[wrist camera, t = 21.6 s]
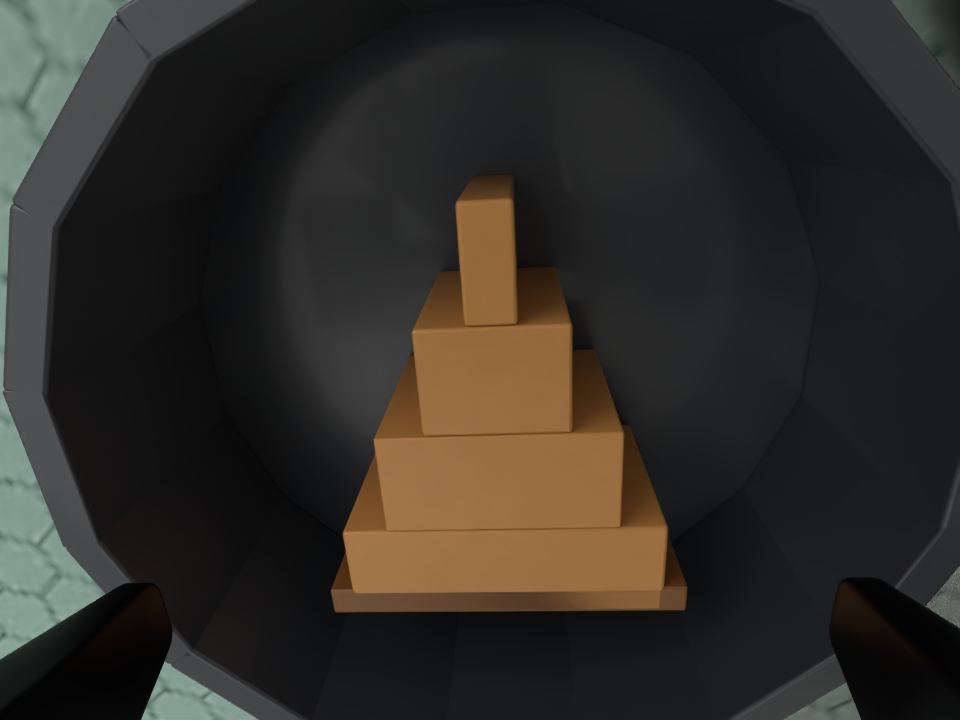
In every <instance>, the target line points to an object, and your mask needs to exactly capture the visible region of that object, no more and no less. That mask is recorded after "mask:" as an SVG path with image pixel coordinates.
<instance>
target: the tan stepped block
mask: <svg viewBox="0 0 960 720" xmlns="http://www.w3.org/2000/svg"><path fill="white" fill-rule="evenodd" d="M455 209H456V223H457V236H458V250H459V264H460V271H445V272H440V273H439V275H438V277H437V279H436V281H435V283H434V285H433V288H432V290H431V292H430V294H429V296H428V298H427V300H426V303H425V305H424V307H423V309H422V311H421V313H420V315H419V318H418V320H417V322H416V324H415V326H414V328H413V331H412V341H413V350H414V356H410V357H409V359H408V361H407V364H406V366H405V368H404V370H403V373H402V375H401V377H400V380H399V382H398V384H397V387H396V389H395V391H394V394H393V396H392V398H391V401H390V403H389V405H388V408H387V410H386V412H385V415H384V417H383V419H382V422H381V424H380V426H379V429H378V431H377V433H376V436H375V438H374V447H375V455H374V458H373V460H372V463H371V465H370V468H369V470H368V472H367V475H366V477H365V480H364V482H363V485H362V487H361V490H360V492H359V495H358V497H357V499H356V502H355V504H354V507H353V509H352V512H351V514H350V517H349V519H348V522H347V524H346V526H345V529H344V531H343V538H344V544H345V549H346V552H345V555H344V558H343V560H342V563H341V565H340V568H339V571H338V573H337V576H336V578H335V581H334V584H333V586H332V589H331V595H332V600H333V605H334V610H335V612H491V611H651V610H685V609H686V602H687V591H688V587H687V584H686V582H685V579H684V576H683V574H682V571H681V568H680V566H679V563H678V560H677V557H676V555H675V552H674V549H673V547H672V544H671V541H670V539H669V536H668V526H667V524H666V521H665V519H664V516H663V513H662V511H661V508H660V505H659V503H658V500H657V497H656V495H655V492H654V489H653V487H652V484H651V481H650V479H649V476H648V473H647V471H646V468H645V465H644V463H643V460H642V457H641V455H640V452H639V449H638V447H637V444H636V441H635V439H634V436H633V433H632V431H631V428H630V426H628V425H621V423H620V420H619V417H618V414H617V411H616V409H615V406H614V403H613V400H612V397H611V394H610V391H609V389H608V386H607V383H606V380H605V377H604V374H603V371H602V369H601V366H600V363H599V360H598V357H597V354H596V351H595V350H594V349H587V350H573V327H572V323H571V320H570V316H569V313H568V309H567V305H566V302H565V298H564V295H563V291H562V288H561V284H560V281H559V277H558V274H557V270H556V268H555V267H532V268H517V259H516V231H515V204H514V178H513V175H511V174H503V175H485V176H474V177H472V179H471V180H470V182H469V184H468V185H467V187H466V188H465V190H464V191H463V193H462V194H461V196H460V197H459V199H458V200H457V202H456V205H455Z"/></svg>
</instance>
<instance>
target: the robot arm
mask: <svg viewBox="0 0 960 720" xmlns="http://www.w3.org/2000/svg"><path fill="white" fill-rule="evenodd" d="M829 635H830V640H831V644H832V647H833V650H834V652H835V655H836V657H837V660H838V662H839V665H840V667H841V670H842V672H843V675H844V677H845V680H846V682H847V685H848V687H849V690H850V693H851V695H852V698H853V700H854V703H855V705H856V708H857V710H858V713H859V715H860V718H861V720H960V628H959V627H957V626H955V625H954V624H952V623H950V622H949V621H947V620H946V619H944V618H942V617H941V616H939V615H938V614H936V613H934V612H933V611H931V610H930V609H928V608H926V607H925V606H923V605H922V604H920V603H918V602H917V601H915V600H914V599H912V598H910V597H909V596H907V595H906V594H904V593H902V592H901V591H899V590H898V589H896V588H894V587H893V586H891V585H890V584H888V583H886V582H885V581H883V580H881V579H879V578H875V577H847V578H844V579H842V580H841V581H840V582H839V584H838V587H837V592H836V596H835V601H834V606H833V610H832V615H831V619H830V624H829ZM172 636H173V630H172V624H171V621H170V618H169V615H168V612H167V609H166V606H165V603H164V600H163V597H162V594H161V591H160V589H159V587H158V586H157V585H156V584H154V583H150V582H143V583H125V584H122V585H120V586H118V587H117V588H115V589H113V590H112V591H110V592H108V593H107V594H105V595H104V596H102V597H100V598H99V599H97V600H96V601H94V602H92V603H91V604H89V605H88V606H86V607H84V608H83V609H81V610H79V611H78V612H76V613H75V614H73V615H71V616H70V617H68V618H67V619H65V620H63V621H62V622H60V623H59V624H57V625H55V626H54V627H52V628H50V629H49V630H47V631H46V632H44V633H42V634H41V635H39V636H38V637H36V638H34V639H33V640H31V641H29V642H28V643H26V644H25V645H23V646H21V647H20V648H18V649H17V650H15V651H13V652H12V653H10V654H9V655H7V656H5V657H4V658H2V659H0V720H141V719H142V716H143V714H144V711H145V709H146V706H147V704H148V701H149V699H150V696H151V694H152V691H153V689H154V686H155V684H156V681H157V679H158V676H159V674H160V671H161V669H162V666H163V664H164V661H165V659H166V656H167V654H168V651H169V649H170V646H171V642H172Z"/></svg>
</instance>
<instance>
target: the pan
mask: <svg viewBox="0 0 960 720" xmlns="http://www.w3.org/2000/svg"><path fill="white" fill-rule="evenodd" d="M503 174H511V175H513V178H514V204H515V231H516V259H517V268H532V267H555V268H556V270H557V274H558V277H559V281H560V284H561V288H562V291H563V295H564V298H565V302H566V305H567V309H568V313H569V316H570V320H571V323H572V327H573V350H587V349H594V350H595V351H596V354H597V357H598V360H599V363H600V366H601V369H602V371H603V374H604V377H605V380H606V383H607V386H608V389H609V391H610V394H611V397H612V400H613V403H614V406H615V409H616V411H617V414H618V417H619V420H620V423H621V425H628V426H630V428H631V431H632V433H633V436H634V439H635V441H636V444H637V447H638V449H639V452H640V455H641V457H642V460H643V463H644V465H645V468H646V471H647V473H648V476H649V479H650V481H651V484H652V487H653V489H654V492H655V495H656V497H657V500H658V503H659V505H660V508H661V511H662V513H663V516H664V519H665V521H666V524H667V526H668V536H669V539H670V541H671V544H672V547H673V549H674V552H675V555H676V557H677V560H678V563H679V566H680V568H681V571H682V574H683V576H684V579H685V582H686V584H687V587H688V591H687V602H686V609H685V610H651V611H491V612H335V610H334V605H333V600H332V595H331V589H332V586H333V584H334V581H335V578H336V576H337V573H338V571H339V568H340V565H341V563H342V560H343V558H344V555H345V552H346V549H345V544H344V538H343V531H344V529H345V526H346V524H347V522H348V519H349V517H350V514H351V512H352V509H353V507H354V504H355V502H356V499H357V497H358V495H359V492H360V490H361V487H362V485H363V482H364V480H365V477H366V475H367V472H368V470H369V468H370V465H371V463H372V460H373V458H374V455H375V447H374V438H375V436H376V433H377V431H378V429H379V426H380V424H381V422H382V419H383V417H384V415H385V412H386V410H387V408H388V405H389V403H390V401H391V398H392V396H393V394H394V391H395V389H396V387H397V384H398V382H399V380H400V377H401V375H402V373H403V370H404V368H405V366H406V364H407V361H408V359H409V357H410V356H414V350H413V341H412V331H413V328H414V326H415V324H416V322H417V320H418V318H419V315H420V313H421V311H422V309H423V307H424V305H425V303H426V300H427V298H428V296H429V294H430V292H431V290H432V288H433V285H434V283H435V281H436V279H437V277H438V275H439V273H440V272H445V271H460V264H459V250H458V236H457V223H456V209H455V205H456V202H457V200H458V199H459V197H460V196H461V194H462V193H463V191H464V190H465V188H466V187H467V185H468V184H469V182H470V180H471V179H472V177H474V176H485V175H503ZM13 203H14V204H13V205H12V206H11V208H10V224H9V250H8V277H7V303H6V329H5V356H4V382H3V386H4V389H6V390H4V391H3V395H4V397H5V400H6V402H7V405H8V407H9V410H10V412H11V415H12V417H13V420H14V422H15V425H16V428H17V430H18V433H19V435H20V438H21V440H22V443H23V445H24V448H25V450H26V453H27V456H28V458H29V461H30V463H31V466H32V468H33V471H34V473H35V476H36V478H37V481H38V483H39V486H40V489H41V491H42V494H43V496H44V499H45V501H46V504H47V506H48V509H49V511H50V514H51V517H52V519H53V522H54V524H55V527H56V529H57V532H58V534H59V537H60V539H61V542H62V544H63V546H64V547H67V548H66V549H67V551H68V552H69V553H70V554H71V555H72V557H73V558H74V559H75V560H76V561H77V562H78V563H79V565H80V566H81V567H82V568H83V569H84V570H85V571H86V572H87V574H88V575H89V576H90V577H91V578H92V579H93V580H94V581H95V583H96V584H97V585H98V586H99V587H100V588H101V589H102V590H103V592H104V593H105V594H107V593H108V592H110V591H112V590H113V589H115V588H117V587H118V586H120V585H122V584H125V583H143V582H150V583H154V584H156V585H157V586H158V587H159V589H160V591H161V594H162V597H163V600H164V603H165V606H166V609H167V612H168V615H169V618H170V621H171V624H172V630H173V636H172V642H171V646H170V649H169V651H168V654H167V656H166V659H165V662H166V663H168V664H171V666H172V667H173V668H175V669H176V670H178V671H180V672H181V673H183V674H185V675H186V676H188V677H190V678H191V679H193V680H194V681H196V682H198V683H199V684H201V685H203V686H204V687H206V688H208V689H209V690H211V691H213V692H214V693H216V694H218V695H219V696H221V697H223V698H224V699H226V700H227V701H229V702H231V703H232V704H234V705H236V706H237V707H239V708H241V709H242V710H244V711H246V712H247V713H249V714H251V715H252V716H254V717H255V718H257V719H259V720H783V719H785V718H787V717H788V716H790V715H792V714H793V713H795V712H797V711H798V710H800V709H802V708H803V707H805V706H807V705H809V704H810V703H812V702H814V701H815V700H817V699H819V698H820V697H822V696H824V695H825V694H827V693H829V692H830V691H832V690H834V689H836V688H837V687H839V686H841V685H842V684H844V683H846V680H845V677H844V675H843V672H842V670H841V667H840V665H839V662H838V660H837V657H836V655H835V652H834V650H833V647H832V644H831V640H830V635H829V624H830V619H831V615H832V610H833V606H834V601H835V596H836V592H837V587H838V584H839V582H840V581H841V580H842V579H844V578H847V577H875V578H879V579H881V580H883V581H885V582H886V583H888V584H890V585H891V586H893V587H894V588H896V589H898V590H899V591H901V592H902V593H904V594H906V595H907V596H909V597H910V598H912V599H914V600H915V601H917V602H918V603H920V604H922V605H923V606H926V604H927V603H928V602H929V601H930V600H931V599H932V597H933V596H934V595H935V594H936V593H937V592H938V590H939V589H940V588H941V587H942V586H943V585H944V583H945V582H946V581H947V580H948V579H949V577H950V576H951V575H952V574H953V573H954V572H955V570H956V569H957V568H958V567H959V566H960V89H959V88H958V86H957V85H956V84H955V82H954V81H953V80H952V79H951V77H950V76H949V75H948V74H947V72H946V71H945V70H944V68H943V67H942V66H941V65H940V63H939V62H938V61H937V59H936V58H935V57H934V56H933V54H932V53H931V52H930V51H929V49H928V48H927V47H926V45H925V44H924V43H923V42H922V40H921V39H920V38H919V36H918V35H917V34H916V33H915V31H914V30H913V29H912V27H911V26H910V25H909V24H908V22H907V21H906V20H905V19H904V17H903V16H902V15H901V13H900V12H899V11H898V10H897V8H896V7H895V6H894V4H893V3H892V2H891V1H890V0H132V1H131V2H129V3H128V4H126V5H124V6H123V7H121V8H120V9H118V11H117V16H115V17H114V18H112V20H111V21H110V23H109V25H108V27H107V29H106V30H105V32H104V34H103V36H102V38H101V40H100V41H99V43H98V45H97V47H96V49H95V50H94V52H93V54H92V56H91V58H90V59H89V61H88V63H87V65H86V67H85V69H84V70H83V72H82V74H81V76H80V78H79V79H78V81H77V83H76V85H75V87H74V88H73V90H72V92H71V94H70V96H69V98H68V99H67V101H66V103H65V105H64V107H63V108H62V110H61V112H60V114H59V116H58V118H57V119H56V121H55V123H54V125H53V127H52V128H51V130H50V132H49V134H48V136H47V137H46V139H45V141H44V143H43V145H42V147H41V148H40V150H39V152H38V154H37V156H36V157H35V159H34V161H33V163H32V165H31V167H30V168H29V170H28V172H27V174H26V176H25V177H24V179H23V181H22V183H21V185H20V186H19V188H18V190H17V192H16V194H15V196H14V197H13Z"/></svg>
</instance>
